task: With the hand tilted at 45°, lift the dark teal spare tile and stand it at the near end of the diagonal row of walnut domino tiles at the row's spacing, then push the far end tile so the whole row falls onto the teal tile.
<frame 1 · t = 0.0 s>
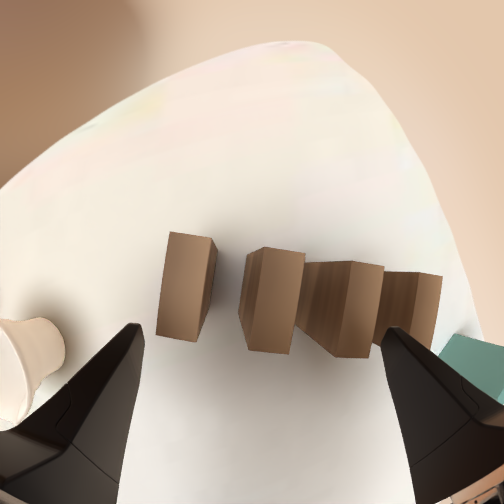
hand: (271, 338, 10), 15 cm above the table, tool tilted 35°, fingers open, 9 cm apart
tile 1: (201, 277, 24), on the table
tile 3: (305, 292, 25), on the table
tile 4: (351, 298, 25), on the table
cup: (50, 344, 23), on the table
spare tile: (445, 355, 26), on the table
tile 2: (254, 285, 25), on the table
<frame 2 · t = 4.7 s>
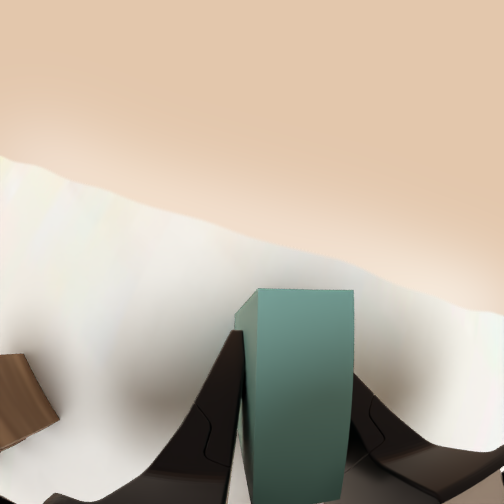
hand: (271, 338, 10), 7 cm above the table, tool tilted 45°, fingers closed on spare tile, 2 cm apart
tile 4: (32, 392, 13), on the table
spare tile: (251, 358, 16), on the table, touching gripper
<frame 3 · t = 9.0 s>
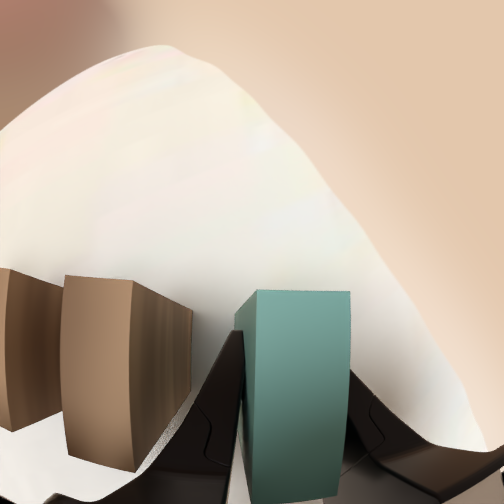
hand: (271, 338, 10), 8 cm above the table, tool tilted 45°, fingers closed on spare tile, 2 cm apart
tile 3: (106, 342, 16), on the table
tile 4: (174, 350, 16), on the table, touching gripper
spare tile: (251, 357, 16), point 1 cm above the table, touching gripper
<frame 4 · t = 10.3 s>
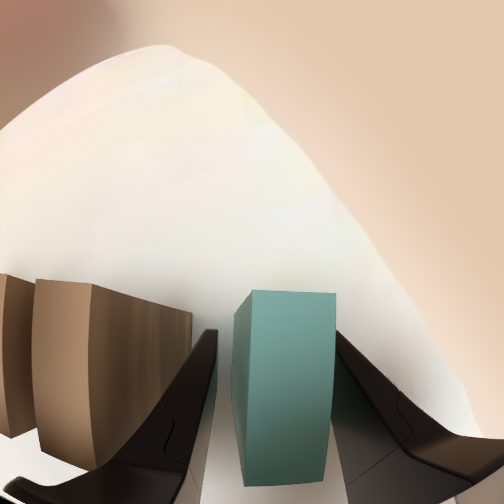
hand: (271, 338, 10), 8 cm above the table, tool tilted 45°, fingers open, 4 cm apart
tile 3: (106, 345, 16), on the table
tile 4: (174, 353, 16), on the table, tilted 7°, touching gripper
spare tile: (249, 355, 17), on the table
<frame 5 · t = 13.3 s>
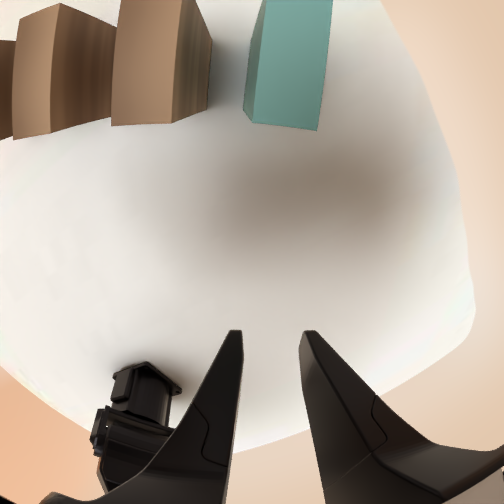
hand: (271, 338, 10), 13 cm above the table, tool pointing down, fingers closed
tile 3: (129, 77, 16), on the table
tile 4: (193, 74, 16), on the table
spare tile: (262, 75, 16), on the table
tile 2: (74, 85, 15), on the table
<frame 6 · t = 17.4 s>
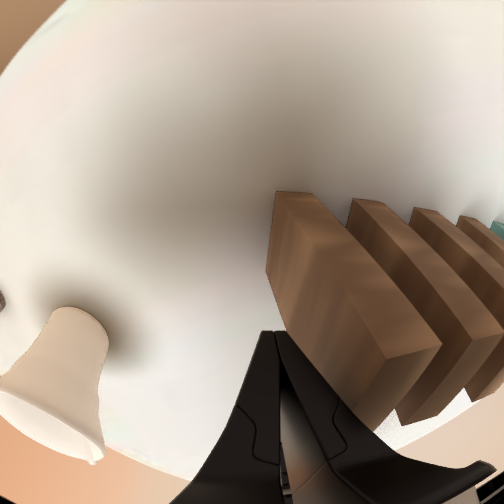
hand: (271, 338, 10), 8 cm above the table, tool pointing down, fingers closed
tile 1: (287, 234, 17), on the table, tilted 6°
tile 3: (414, 243, 17), on the table
tile 4: (457, 247, 18), on the table
cup: (85, 328, 20), on the table
spare tile: (488, 249, 18), on the table
tile 2: (358, 238, 17), on the table
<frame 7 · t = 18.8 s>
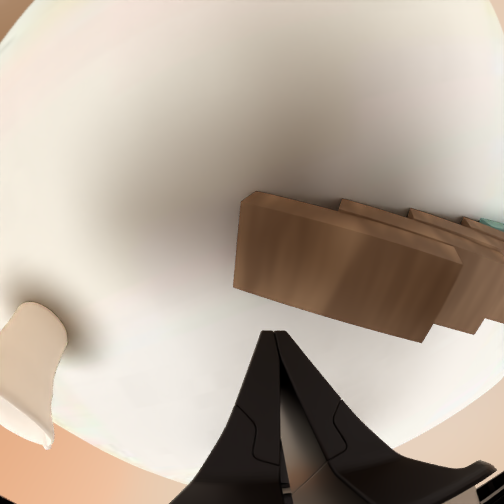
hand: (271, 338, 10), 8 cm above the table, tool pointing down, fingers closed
tile 1: (244, 240, 16), point 1 cm above the table, tilted 65°, touching tile 2
tile 3: (400, 249, 17), point 1 cm above the table, tilted 65°, touching tile 2
tile 4: (455, 253, 17), point 1 cm above the table, tilted 65°, touching spare tile
cup: (47, 323, 20), on the table
tile 2: (330, 244, 16), point 1 cm above the table, tilted 65°, touching tile 1, tile 3
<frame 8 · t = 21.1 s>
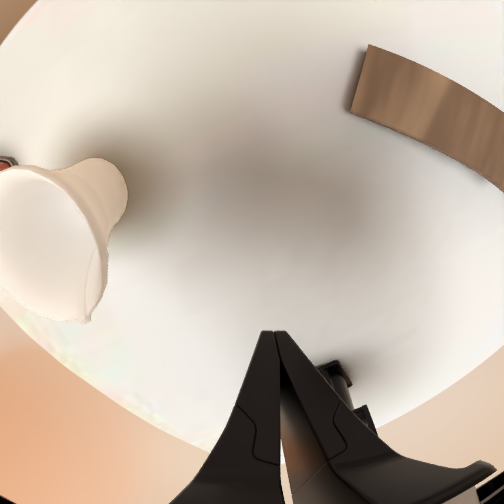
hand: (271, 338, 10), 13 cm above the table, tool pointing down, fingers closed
tile 1: (359, 78, 16), point 1 cm above the table, tilted 69°, touching tile 2
cup: (103, 190, 20), on the table
tile 2: (424, 101, 16), point 1 cm above the table, tilted 69°, touching tile 1, tile 3
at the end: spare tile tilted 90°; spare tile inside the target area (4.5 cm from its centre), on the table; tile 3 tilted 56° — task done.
